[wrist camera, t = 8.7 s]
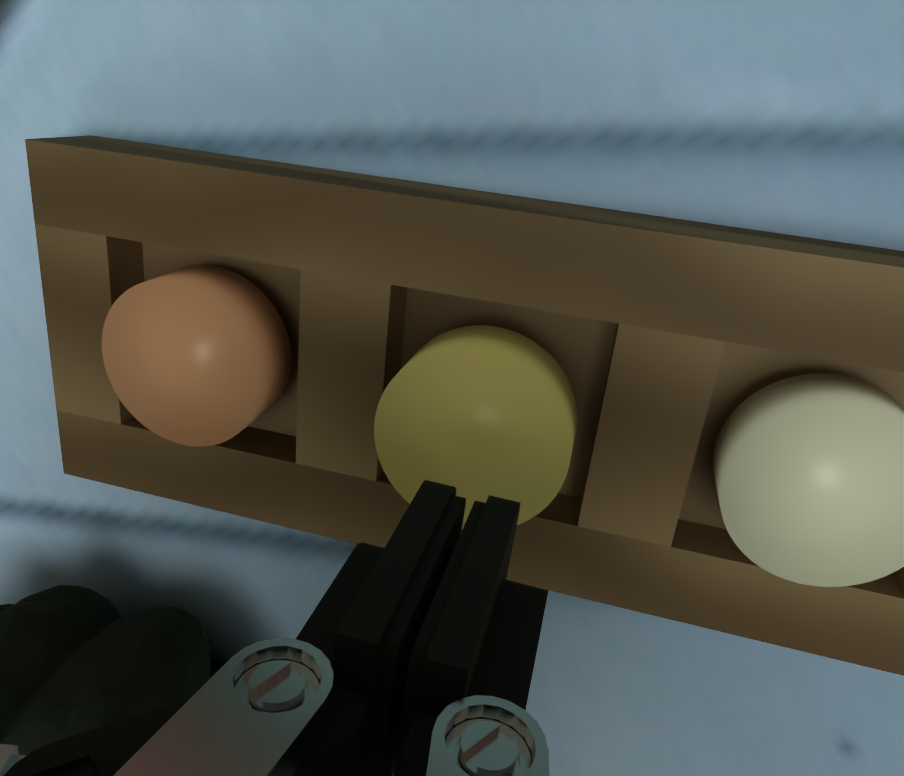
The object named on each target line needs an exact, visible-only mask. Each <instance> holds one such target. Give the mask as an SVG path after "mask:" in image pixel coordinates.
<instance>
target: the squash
mask: <svg viewBox="0 0 904 776" xmlns="http://www.w3.org/2000/svg"><path fill="white" fill-rule="evenodd" d="M221 667H222V666H220V665H211V656H210V647H209V639H208V634H207V631H206V629H205V628H204V627H203V625H202V624H201V622H200V621H199V620H198V619H197V618H195V617H194V616H193V615H191V614H190V613H189V612H188V611H185V610H183V609H180V608H175V607H163V608H153V609H146V610H143V611H140V612H137V613H134V614H131V615H128V616H125V617H122V615H121V614H120V612H119V611H118V610H117V608H116V607H115V606H114V604H113V603H112V602H111V601H110V600H109V599H107V598H106V597H104V596H102V595H101V594H99V593H98V592H95V591H93V590H91V589H88V588H84V587H80V586H67V585H59V586H55V587H52V588H50V589H47V590H44V591H41V592H39V593H36V594H33V595H31V596H28V597H26V598H24V599H21V600H20V601H19V602H18V603H16V604H6V605H0V744H8V745H17V746H18V753H19V755H25V756H27V755H28V754H29V753H31V752H32V751H34V750H36V749H38V748H41V747H43V746H45V745H48V744H50V743H52V742H55V741H58V740H61V739H64V738H68V737H71V736H74V735H77V734H80V733H83V732H87V731H90V730H93V729H96V728H99V727H103V726H106V725H109V724H112V723H115V722H118V721H122V720H125V719H128V718H131V717H134V716H137V715H141V714H144V713H147V712H150V711H153V710H156V709H160V708H163V707H166V706H169V705H172V704H176V703H179V702H182V701H185V700H188V699H190V698H191V697H192V696H193V695H194V694H195V693H196V692H197V691H198V690H199V689H200V688H201V687H202V686H203V685H204V684H205V683H206V682H207V681H208V680H209V679H210V678H211V677H212V676H213V675H214V674H215V673H216V672H217V671H218V670H219V669H220V668H221Z"/></svg>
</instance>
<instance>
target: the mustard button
mask: <svg viewBox="0 0 904 776" xmlns="http://www.w3.org/2000/svg"><path fill="white" fill-rule="evenodd" d="M576 428H577V406H576V400H575V396H574V393H573V390H572V386H571V384H570V382H569V380H568V378H567V376H566V374H565V373H564V371H563V370H562V368H561V367H560V365H559V364H558V363H557V362H556V360H555V359H554V358H553V357H552V356H551V355H550V354H549V353H548V352H547V351H546V350H545V349H544V348H542V347H541V346H540V345H538V344H537V343H535V342H534V341H532V340H531V339H529V338H527V337H525V336H523V335H521V334H519V333H516V332H514V331H511V330H508V329H504V328H500V327H494V326H486V325H477V326H466V327H460V328H456V329H453V330H449V331H447V332H445V333H442V334H440V335H438V336H436V337H435V338H433V339H432V340H430V341H429V342H427V343H426V344H425V345H424V346H423V347H421V348H420V349H419V350H418V351H417V353H416V354H415V355H414V356H413V357H412V358H411V359H410V360H409V361H408V362H407V363H406V365H405V366H404V367H403V368H402V369H401V370H400V371H399V372H398V373H397V374H396V376H395V377H394V378H393V379H392V380H391V381H390V383H389V384H388V386H387V387H386V389H385V390H384V392H383V394H382V396H381V399H380V401H379V404H378V407H377V410H376V415H375V422H374V439H375V446H376V451H377V454H378V458H379V461H380V463H381V466H382V468H383V470H384V472H385V474H386V476H387V478H388V479H389V481H390V482H391V484H392V485H393V486H394V488H395V489H396V491H397V492H398V493H399V494H400V495H401V496H402V497H403V498H404V499H405V500H406V501H407V502H408V503H409V504H410V503H411V501H412V500H413V498H414V496H415V495H416V493H417V491H418V489H419V488H420V486H421V484H422V483H423V481H424V480H428V481H432V482H437V483H441V484H445V485H449V486H453V487H456V496H459V497H463V498H466V506H465V513H464V519H463V525H462V529H463V527H464V525H465V523H466V520H467V518H468V515H469V513H470V511H471V508H472V506H473V504H474V502H475V501H480V502H484V503H486V501H487V499H488V497H489V495H491V496H495V497H499V498H503V499H508V500H512V501H516V502H520V511H519V516H518V521H517V525H519V524H521V523H523V522H526V521H528V520H530V519H531V518H533V517H534V516H536V515H537V514H539V513H540V512H541V511H542V510H544V509H545V508H546V507H547V506H548V505H549V504H550V503H551V501H552V500H553V499H554V498H555V497H556V495H557V494H558V492H559V490H560V489H561V487H562V485H563V483H564V481H565V478H566V476H567V472H568V468H569V465H570V460H571V455H572V450H573V445H574V440H575V435H576Z"/></svg>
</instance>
